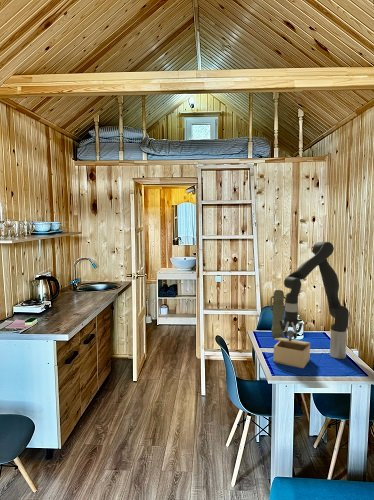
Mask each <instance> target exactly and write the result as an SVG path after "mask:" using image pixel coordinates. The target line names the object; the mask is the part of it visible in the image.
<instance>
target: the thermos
mask: <svg viewBox="0 0 374 500" xmlns="http://www.w3.org/2000/svg"><path fill="white" fill-rule="evenodd" d="M269 299H270V300H269V301H270V303H269V307H270V308H269V309H270V311H271V314H272V326H271V337H272V338H284V334H285V332H284V331H283V330H282V329H281V325H280V320H284V318H285V305H286V296H285V293H284V291H283V290H281V289H276V290H274V292H273V295H272V296H271V297H270V298H269Z"/></svg>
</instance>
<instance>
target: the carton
mask: <svg viewBox="0 0 374 500" xmlns="http://www.w3.org/2000/svg"><path fill="white" fill-rule="evenodd" d="M310 352H311V343H310V344H307V345H301V344H295V343H290V342H284V341H278V342H277V343H275V345H274V346H273V363H276V364H281V365H285V366H291V367H295V368H300V369H304V368H305V367H306V365H307V364H308V363H309V362H310V357H311V356H310V355H311V353H310Z"/></svg>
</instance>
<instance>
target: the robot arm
mask: <svg viewBox="0 0 374 500" xmlns="http://www.w3.org/2000/svg"><path fill="white" fill-rule="evenodd" d="M312 248H313V249H312V250H313V255H314V256H311V258H309V259H307V260H305V261H304V262H303V263H302V264H300V266H299V267H298V268H297V269H296V270H295V271H293V272H291V273H290V274H289V275H287V276H286V277H285V279H284V281H283V285H284V287H285V288H287V289H289V290H290V291H289V292H287V293H286V294H285V297H286V305H285V304H284V309H285V311H284V318H283V320H280V325H281V329H282V330H283V331H284V334H283V337H284V338H286V339H288V336H287V332H288V331H289V330H288V329H289V328H292V329H293V330H292V331H293V332H294V337H293V340H296V339H297V337H298V334H299V333H300V332H301V331H302V327H303V325H304V323H303V322H300V321H299V295H300V292H301V289H302V280H305V279H306V278H307V277H308V276H309V275H310V273H311V272H312V271H314V269H316V268H317V267H318V269H319V272H320V276H321V280H322V284H323V287H324V292H325V294H326V295H325V296H326V299H327V305H328V312H329V315H330V316H331V317H332V318H334V321H333V322H334V323H332V324H331V326H330V344H329V345H330V346H329V356H330V357H332V358H334V359H339V360H340V359H343V360H345V359H346V357H347V330H348V326H349V321H350V312H349V309H348V308H347V307H346V306H344V305H342V304H341V302H340V299H339V292H340V291H339V290H340V282H339V278H338V274H337V273H336V271H335V270H334V267H332V266H331V264H330V263H329V261H328V258H329V257H330V256H332V254H333V252H334V251H335V247H334V245H333V243H331V242H329V241H317V242H315V243H314V244H313V247H312ZM284 324H285V325H284ZM297 326H298V328H297Z"/></svg>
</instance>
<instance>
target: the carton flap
mask: <svg viewBox="0 0 374 500" xmlns="http://www.w3.org/2000/svg"><path fill="white" fill-rule="evenodd" d="M287 331H288V332H287V338H285V337H283V338H274V337H273V338H274V341H278V342H279V341H284V342H290V343H295V344H301V345H307V344H310V345H311V342H309V341H305V340H304V341H302V340H298V339H297V340H296V339H293V338H294V330H287Z"/></svg>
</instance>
